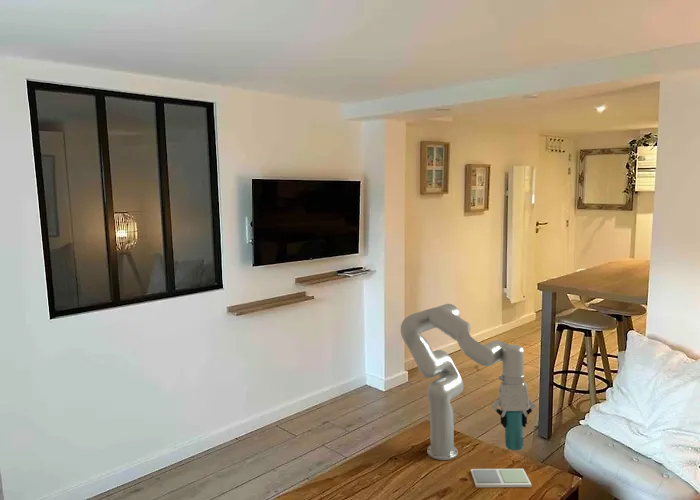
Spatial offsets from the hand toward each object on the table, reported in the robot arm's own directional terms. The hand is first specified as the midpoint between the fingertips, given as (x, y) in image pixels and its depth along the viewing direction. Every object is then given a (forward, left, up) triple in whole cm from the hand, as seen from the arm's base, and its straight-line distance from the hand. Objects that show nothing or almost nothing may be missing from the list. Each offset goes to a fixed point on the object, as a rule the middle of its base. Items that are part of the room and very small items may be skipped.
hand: (513, 425), depth 192 cm
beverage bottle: (0, 0, -10) cm, 10 cm away
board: (-2, -5, -21) cm, 22 cm away
